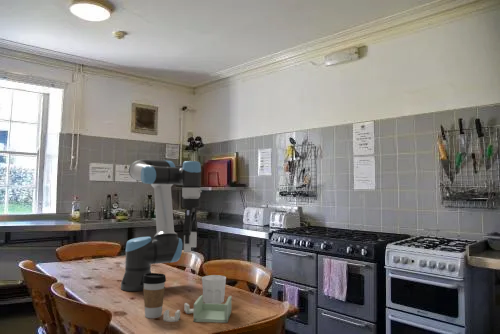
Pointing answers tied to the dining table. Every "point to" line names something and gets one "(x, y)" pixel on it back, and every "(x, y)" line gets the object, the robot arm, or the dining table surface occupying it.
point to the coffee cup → (153, 294)
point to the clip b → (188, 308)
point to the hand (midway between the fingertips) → (190, 249)
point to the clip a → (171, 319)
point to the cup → (213, 289)
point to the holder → (211, 311)
